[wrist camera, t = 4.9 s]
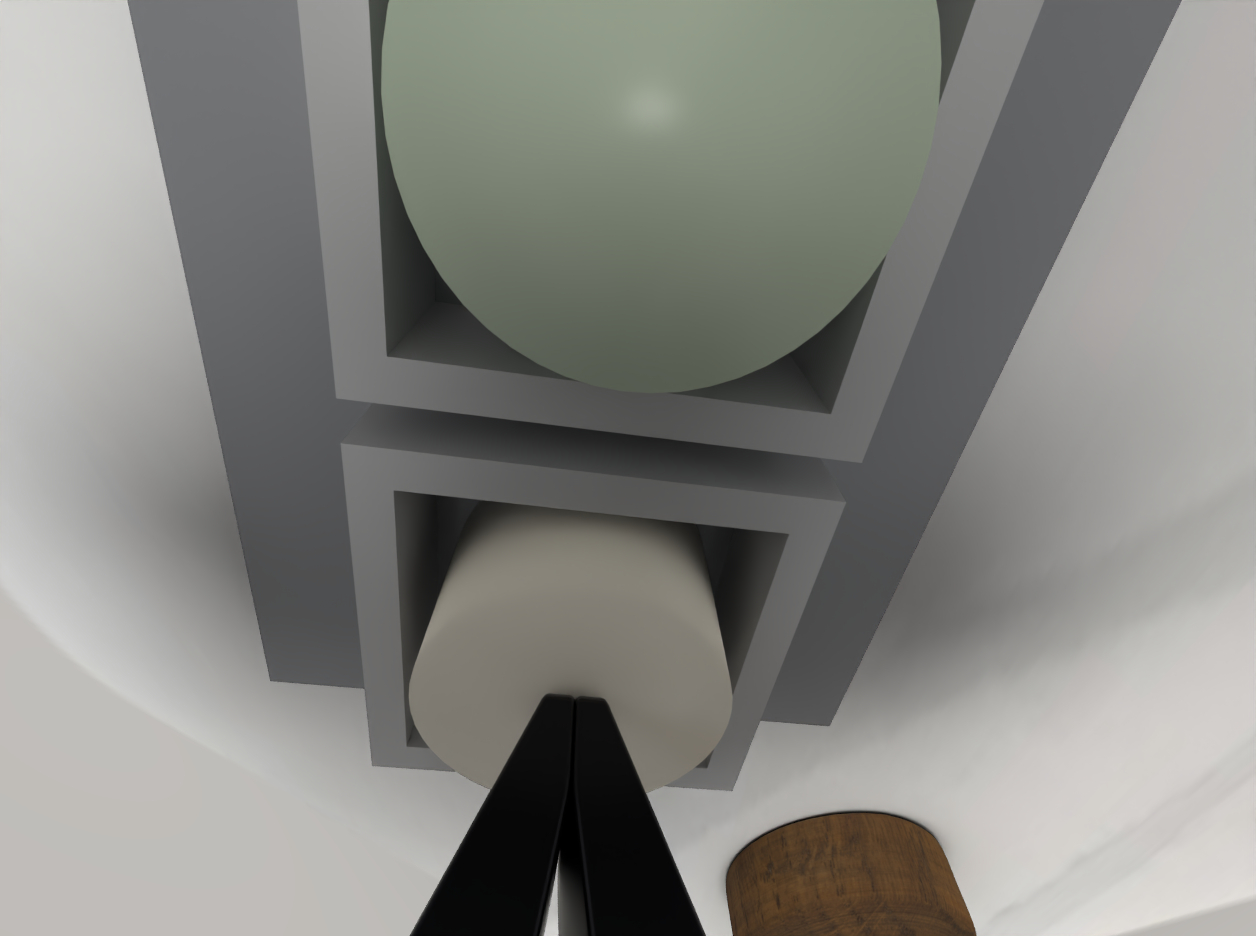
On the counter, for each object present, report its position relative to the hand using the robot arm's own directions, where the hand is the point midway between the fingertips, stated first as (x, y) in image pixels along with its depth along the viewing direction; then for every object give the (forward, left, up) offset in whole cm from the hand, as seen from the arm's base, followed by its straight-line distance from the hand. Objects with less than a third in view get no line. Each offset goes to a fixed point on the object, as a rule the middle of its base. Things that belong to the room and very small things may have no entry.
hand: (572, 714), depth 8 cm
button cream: (0, 0, -3) cm, 3 cm away
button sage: (0, -7, -3) cm, 8 cm away
